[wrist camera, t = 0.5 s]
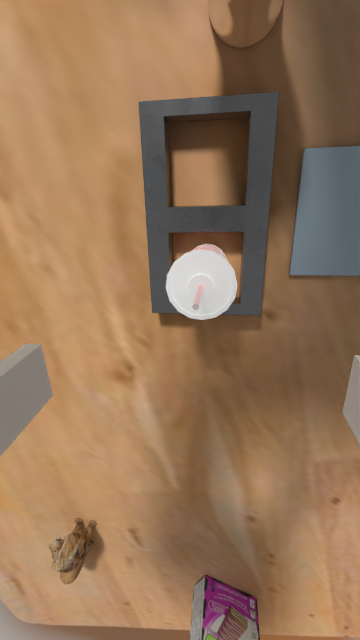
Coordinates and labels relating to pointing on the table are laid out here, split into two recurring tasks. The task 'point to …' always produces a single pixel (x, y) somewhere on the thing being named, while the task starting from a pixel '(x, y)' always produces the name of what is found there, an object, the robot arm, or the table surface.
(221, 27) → the silver metal tumbler
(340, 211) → the slate mat
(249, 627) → the candy bar box
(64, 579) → the lion figurine
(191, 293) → the beverage cup
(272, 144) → the dark grey slotted frame
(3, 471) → the table surface
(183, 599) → the table surface
